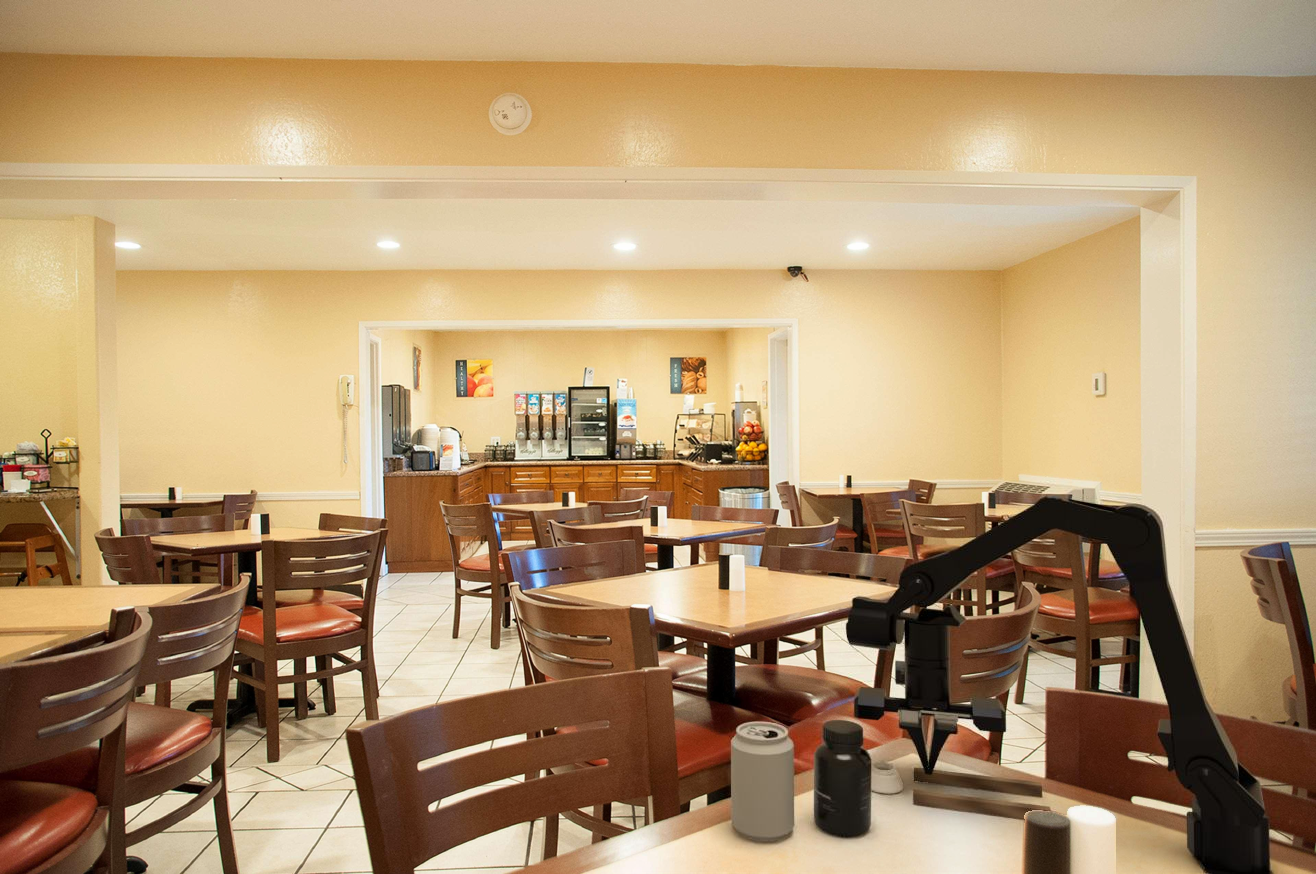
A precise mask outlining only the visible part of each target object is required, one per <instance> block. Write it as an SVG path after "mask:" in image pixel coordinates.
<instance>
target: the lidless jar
mask: <svg viewBox="0 0 1316 874" xmlns="http://www.w3.org/2000/svg"><path fill="white" fill-rule="evenodd" d="M871 764H872V768H871V792H874V793H879V794H882V795H883V794H885V795H891V794H896V793H900V792H902V791H903V789H904V782H903V780H902V779H901V777H900V774H899V772H898V771H897V770H896V767H895V765H894V764H892V763H889V762H882V761H878V762H877V761H876V762H873V763H871Z"/></svg>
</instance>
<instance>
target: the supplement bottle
mask: <svg viewBox="0 0 1316 874" xmlns="http://www.w3.org/2000/svg"><path fill="white" fill-rule="evenodd" d="M821 741H822V742H823V743H821V744H819V745H818V746H817V747H816V749H815V751H814V755H813V821H814V823H815V825H816V826H817V828H819V829H820V830H821V831H822V832H824V833H825V834H828V835H831V836H834V837H839V838H845V839H846V838H847V839H848V838H851V839H852V838H857V837H862V836H864V835H866V834H867V833H868V832H869V831H870V829H871V826H872V790H871V768H872V764H873V763H872V758H871V755H870V753H869V752H868V751H867V749H866V748H865V747H863V745H864V728H863V727H862V725H860V723H857V722H854V721H852V720H851V721H850V720H843V719H832V720H828V721H825V722H824V723H823V724H822V735H821Z"/></svg>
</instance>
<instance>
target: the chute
mask: <svg viewBox="0 0 1316 874" xmlns="http://www.w3.org/2000/svg"><path fill="white" fill-rule="evenodd" d="M913 782H916V783H922V784H923V783H924V784H932V785H938V784H939V785H938V786H948V787H954V786H955V787H956V788H962V787H963V788H964V789H970V788H972V789H971V790H978V789H981V790H980V791H986V790H987V792H995V793H1003V794H1004V793H1005V794H1010V795H1019V796H1028V797H1036V798H1043V784H1042V782H1041V781H1033V780H1026V779H1025V780H1023V779H1017V778H1016V779H1015V778H1009V777H1008V778H1006V777H1000V776H999V777H998V776H990V775H983V774H976V773H975V774H974V773H973V774H972V773H966V772H956V771H950V770H940V769H934V770H933V773H932V775H929V772H928V775H926V774H925V772H924V769H923V767H915V766H914V767H913ZM912 805H913V806H918V807H919V806H920V807H925V808H935V809H942V810H948V811H957V812H963V813H964V812H965V813H972V814H977V815H979V814H980V815H986V816H993V817H1002V818H1009V819H1017V820H1023V821H1024V815H1025V813H1026V812H1028V811H1032V810H1043V811H1051V812H1052V810H1051V807H1050V806H1047V805H1040V804H1039V805H1038V804H1033V803H1025V802H1018V801H1017V802H1015V801H1007V800H1002V799H1001V800H1000V799H993V798H983V797H977V796H971V795H970V796H968V795H960V794H953V793H947V792H945V793H944V792H936V791H930V790H922V789H921V790H920V789H912Z"/></svg>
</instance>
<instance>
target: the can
mask: <svg viewBox="0 0 1316 874" xmlns="http://www.w3.org/2000/svg"><path fill="white" fill-rule="evenodd" d="M735 731H736V734H735V735H734V737H732V739H731V740H730V774H731V775H730V781H731V782H730V788H731V789H730V792H731V793H730V796H731V797H730V798H731V799H730V800H731V801H730V804H731V807H730V808H731V812H730V813H731V814H730V817H731V818H730V819H731V825H733V827H734V829H736V830H737V831H738V833H740V835H742V836H743V837H745V838H747V839H750V840H752V841H759V842H772V841H779V840H782V839H783V838H785V837H786V836H787V834H788V833H789V832H791V831H792V830H793V829H794V826H795V756H794V755H795V754H794V753H795V749H794V748H795V746H794V745H795V744H794V742H793V740H792V739H791V738H790V737H789V731H788V728H786V727H785V726H784V725H780V724H779V723H773V722H769V721H749V722H744V723H742V724H740V725H738V726H737V727H736V729H735Z"/></svg>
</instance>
